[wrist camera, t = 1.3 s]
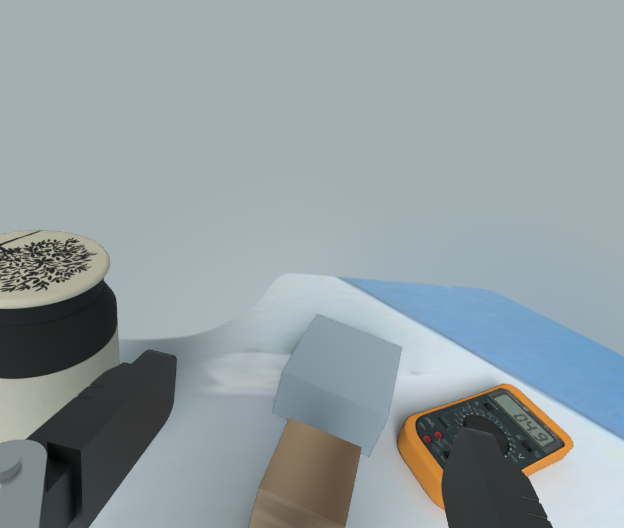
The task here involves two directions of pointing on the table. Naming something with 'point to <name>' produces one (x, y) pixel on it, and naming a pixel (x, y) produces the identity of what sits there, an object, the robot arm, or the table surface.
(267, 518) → the walnut block
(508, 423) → the multimeter
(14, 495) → the robot arm
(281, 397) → the slate box
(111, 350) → the travel mug
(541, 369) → the table surface
